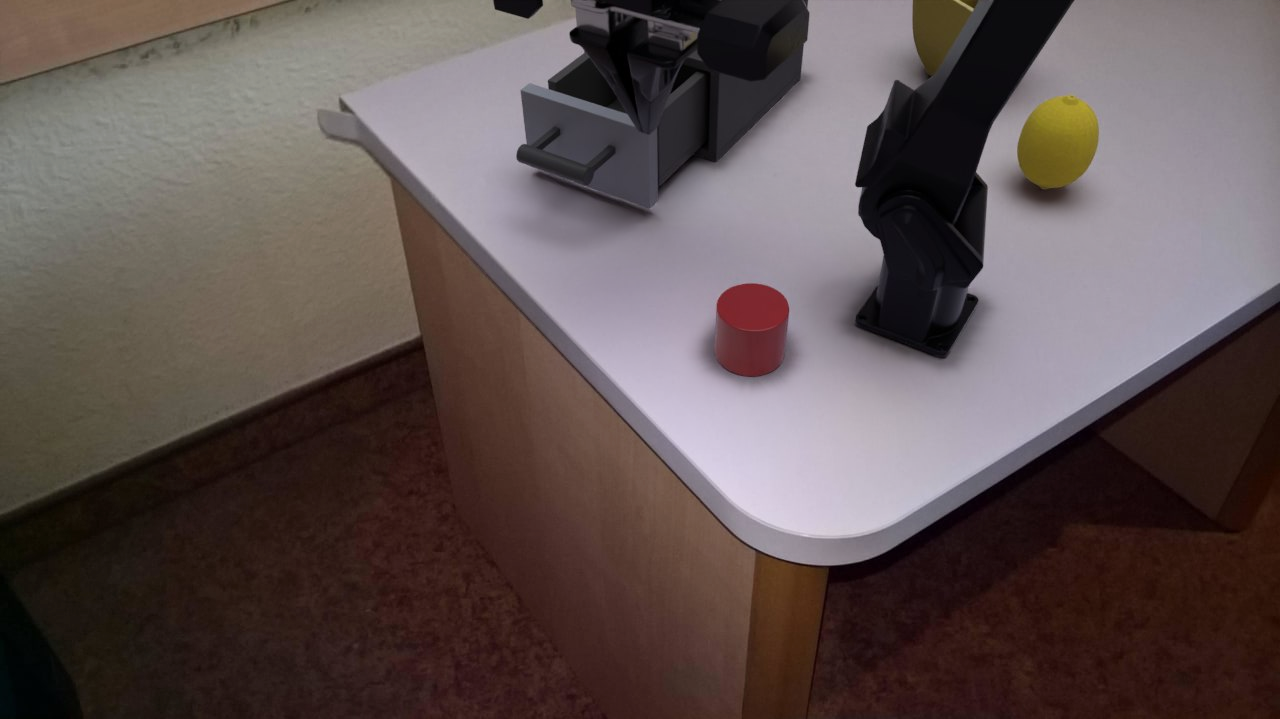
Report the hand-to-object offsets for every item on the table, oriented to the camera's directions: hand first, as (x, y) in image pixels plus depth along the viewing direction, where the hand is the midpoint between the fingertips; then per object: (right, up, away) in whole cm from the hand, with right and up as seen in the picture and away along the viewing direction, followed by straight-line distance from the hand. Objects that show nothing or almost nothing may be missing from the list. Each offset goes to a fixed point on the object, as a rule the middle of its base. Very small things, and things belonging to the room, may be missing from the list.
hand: (648, 130), depth 65 cm
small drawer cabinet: (+5, +8, +25) cm, 27 cm away
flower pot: (+29, +10, +27) cm, 40 cm away
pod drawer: (-2, +2, +17) cm, 18 cm away
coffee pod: (+7, -14, +2) cm, 16 cm away
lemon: (+31, -1, +15) cm, 34 cm away
